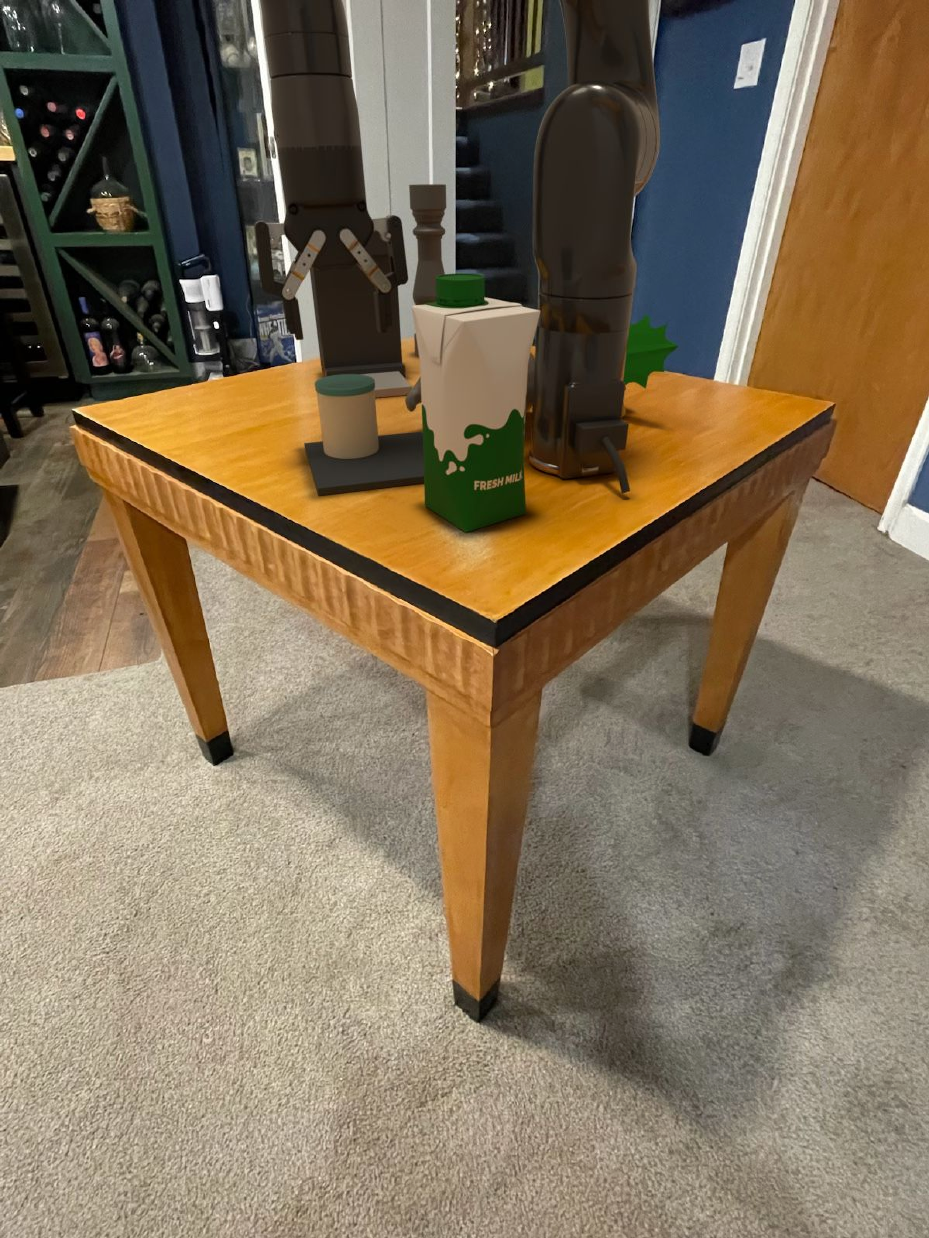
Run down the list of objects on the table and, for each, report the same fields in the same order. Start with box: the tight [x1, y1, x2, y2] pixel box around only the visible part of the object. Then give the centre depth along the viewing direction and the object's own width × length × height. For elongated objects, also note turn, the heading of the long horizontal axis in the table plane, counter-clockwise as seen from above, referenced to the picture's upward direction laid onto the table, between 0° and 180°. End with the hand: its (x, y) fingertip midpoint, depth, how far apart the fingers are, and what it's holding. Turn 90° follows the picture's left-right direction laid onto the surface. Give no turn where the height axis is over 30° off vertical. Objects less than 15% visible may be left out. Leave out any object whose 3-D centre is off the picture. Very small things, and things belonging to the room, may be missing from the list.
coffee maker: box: [309, 230, 413, 399], centre depth 99 cm, size 17×12×20 cm
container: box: [314, 374, 379, 459], centre depth 76 cm, size 6×6×8 cm
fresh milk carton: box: [411, 273, 540, 533], centre depth 60 cm, size 9×9×20 cm
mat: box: [304, 431, 424, 496], centre depth 76 cm, size 14×14×1 cm
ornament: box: [533, 313, 679, 418], centre depth 89 cm, size 21×8×15 cm, turn 44°
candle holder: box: [408, 183, 447, 358], centre depth 113 cm, size 6×6×25 cm
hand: (341, 335), depth 70 cm, fingers open, 8 cm apart
